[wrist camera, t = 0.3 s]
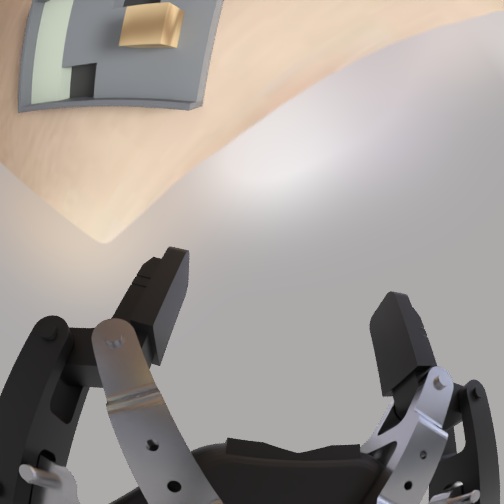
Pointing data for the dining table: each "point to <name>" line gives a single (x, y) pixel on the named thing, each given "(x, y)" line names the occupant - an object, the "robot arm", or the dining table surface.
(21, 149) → the dining table surface
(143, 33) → the oak block
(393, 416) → the robot arm
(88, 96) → the box
